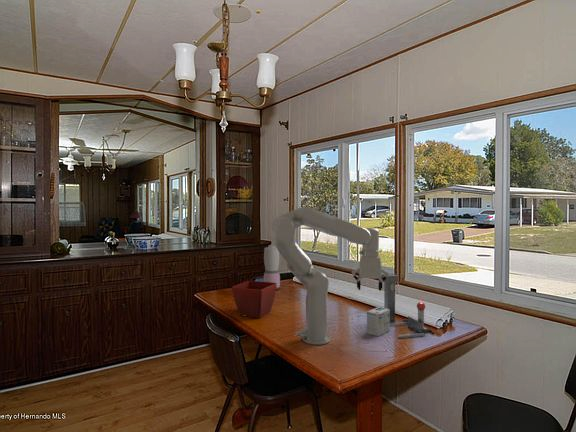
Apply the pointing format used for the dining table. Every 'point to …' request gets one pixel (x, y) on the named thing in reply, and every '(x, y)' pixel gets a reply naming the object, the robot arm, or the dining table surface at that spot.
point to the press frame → (390, 304)
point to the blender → (271, 265)
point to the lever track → (422, 330)
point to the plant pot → (254, 297)
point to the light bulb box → (378, 321)
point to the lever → (421, 314)
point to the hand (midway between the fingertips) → (369, 289)
